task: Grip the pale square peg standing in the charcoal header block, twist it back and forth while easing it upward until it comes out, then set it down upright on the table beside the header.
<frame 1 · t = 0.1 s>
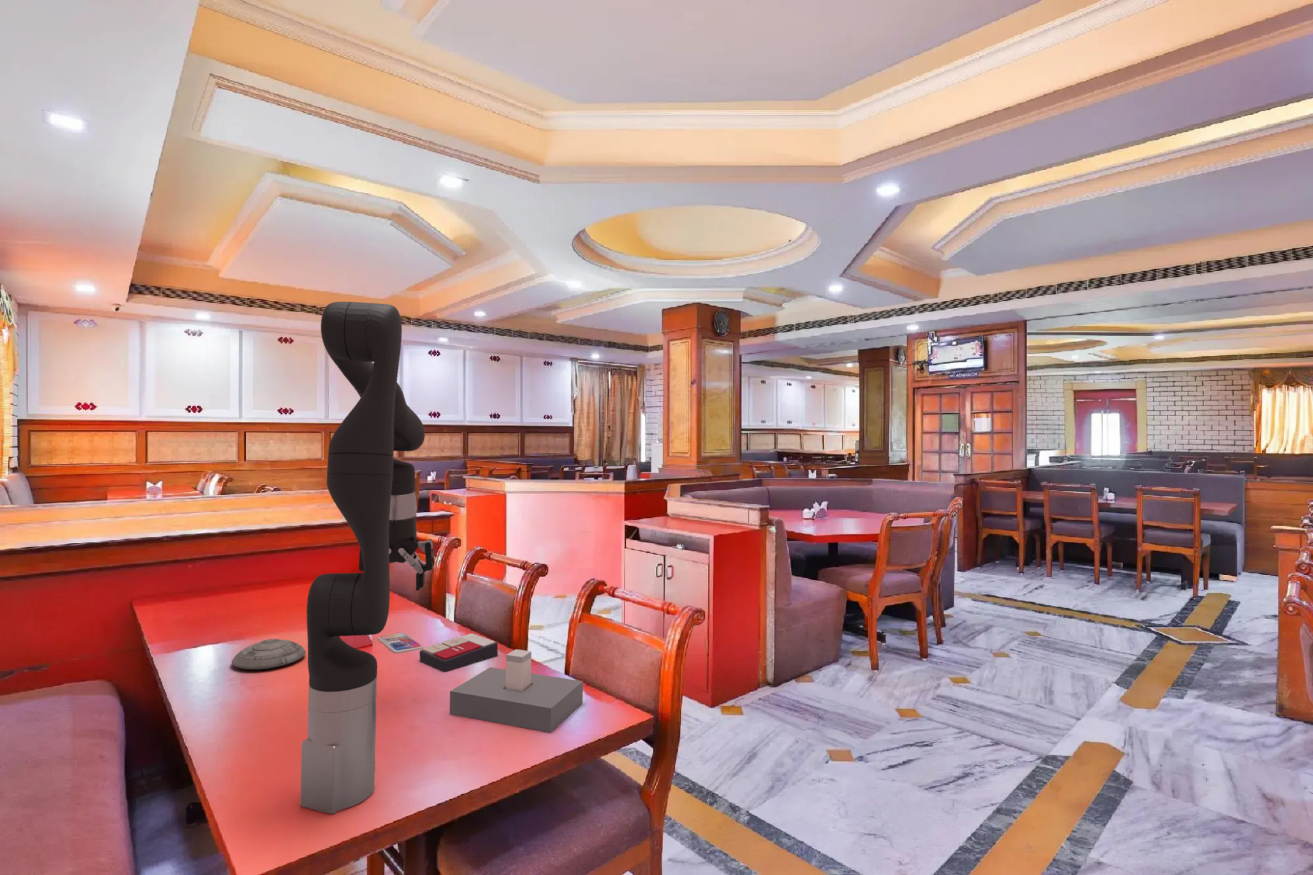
hand: (397, 589, 130), 22 cm above the table, tool pointing down, fingers open, 8 cm apart
flying saucer: (269, 663, 149), on the table
smartphone: (400, 645, 164), on the table
pale square peg: (518, 679, 126), in the header
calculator: (459, 660, 154), on the table
header: (517, 708, 126), on the table
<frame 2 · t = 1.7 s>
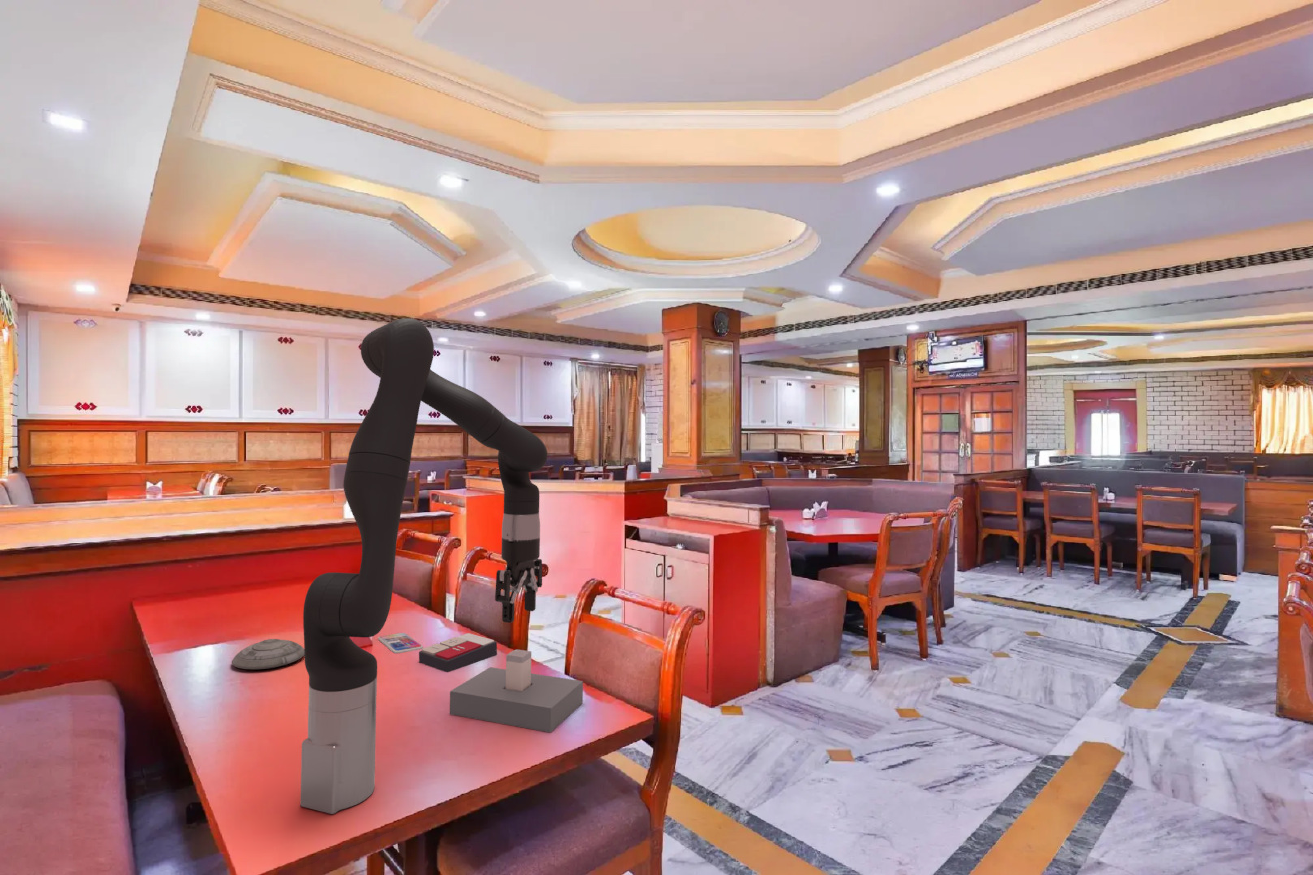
hand: (519, 616, 127), 19 cm above the table, tool pointing down, fingers open, 8 cm apart
nothing on the table moved.
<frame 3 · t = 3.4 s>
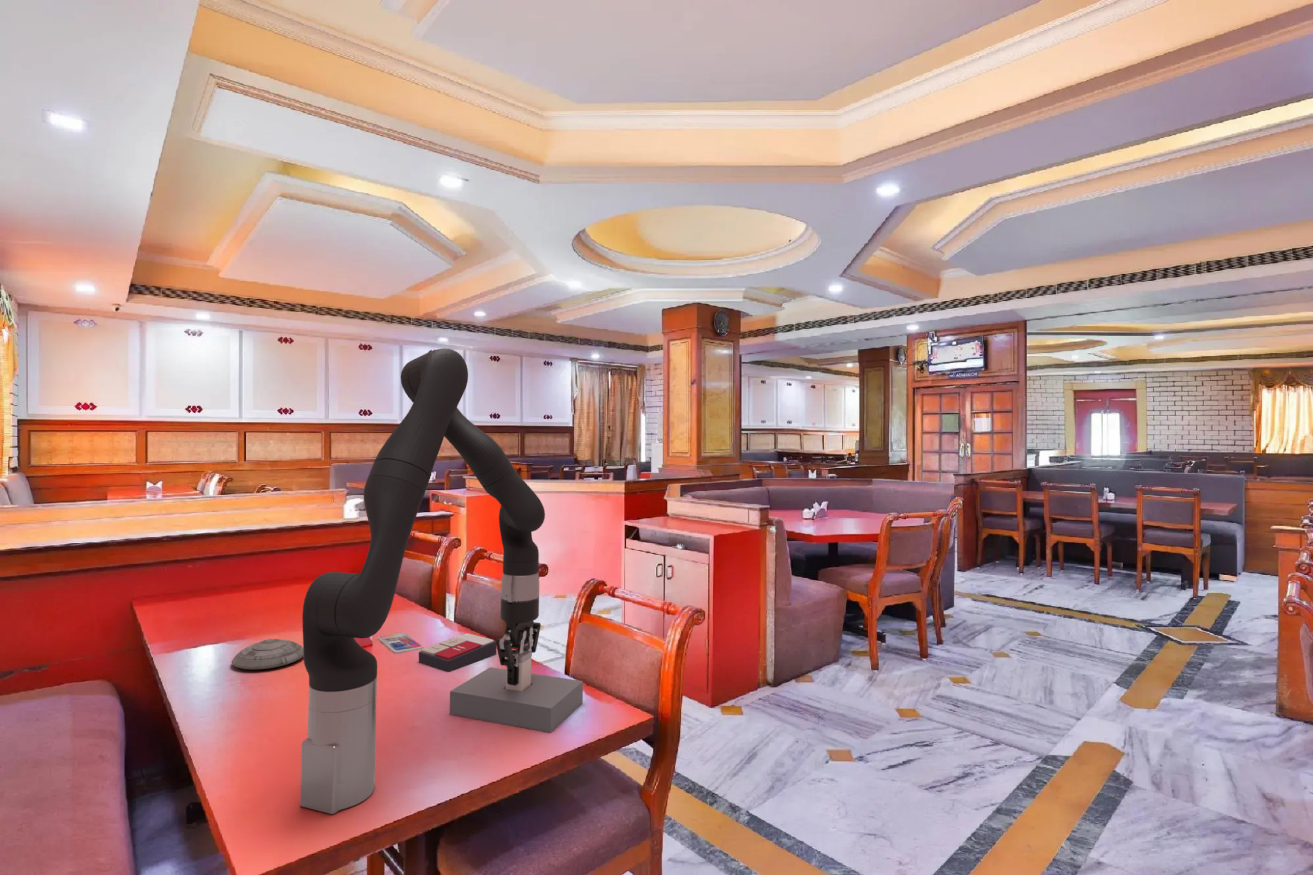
hand: (518, 680, 126), 6 cm above the table, tool pointing down, fingers closed on pale square peg, 3 cm apart
pale square peg: (518, 679, 126), in the header, touching gripper
everything else where it was.
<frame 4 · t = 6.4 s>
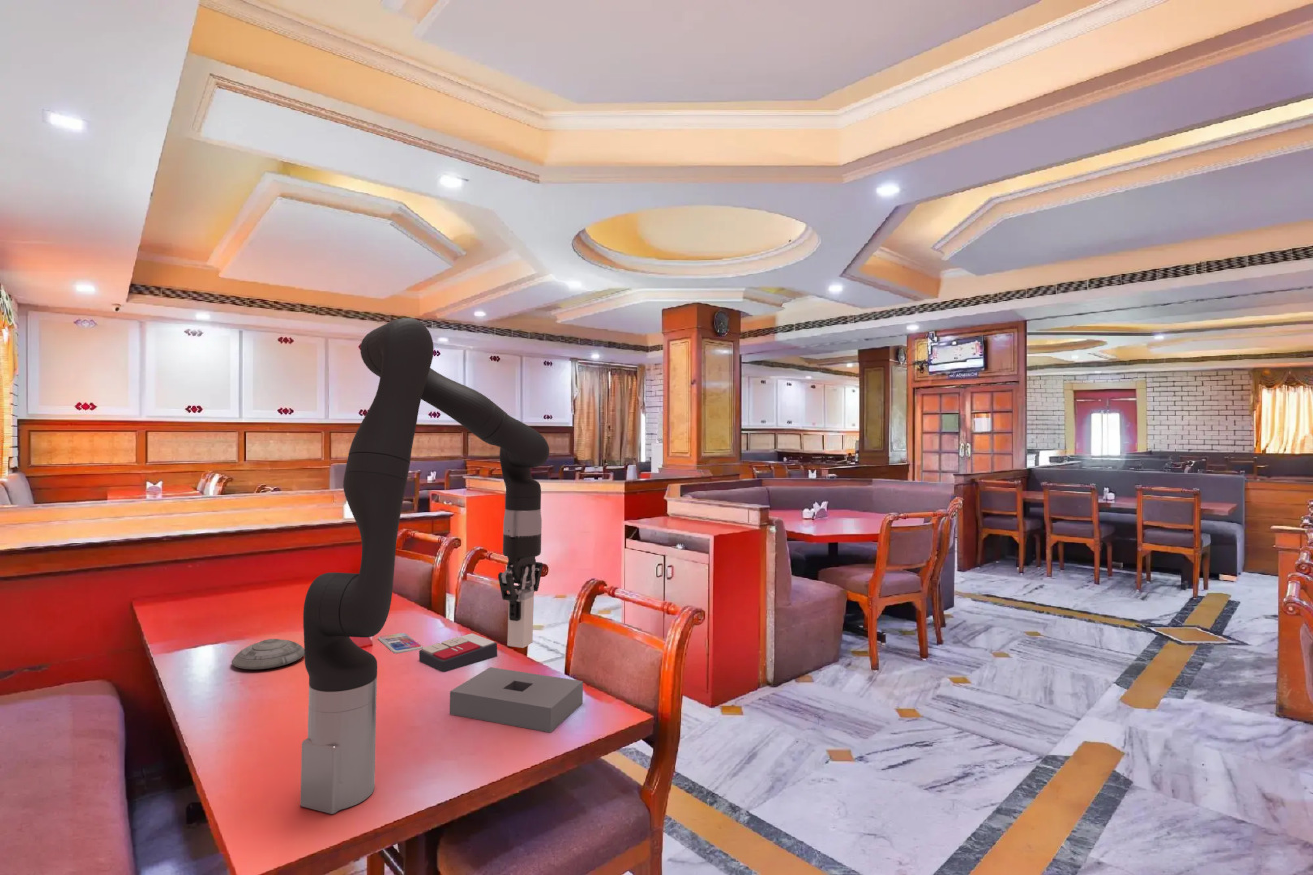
hand: (520, 617, 126), 18 cm above the table, tool pointing down, fingers closed on pale square peg, 3 cm apart
pale square peg: (520, 617, 126), point 18 cm above the table, touching gripper
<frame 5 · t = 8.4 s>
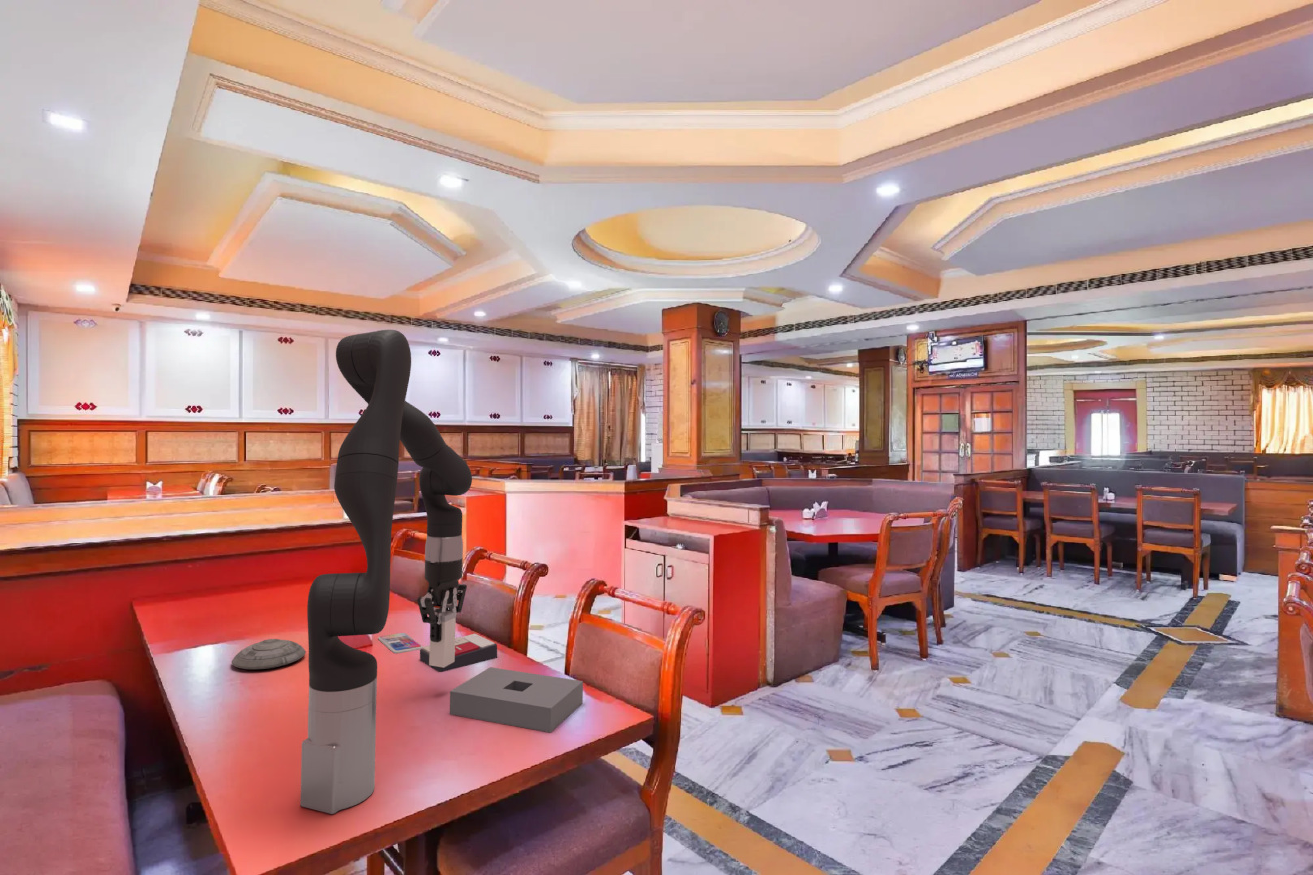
hand: (442, 637, 132), 12 cm above the table, tool pointing down, fingers closed on pale square peg, 3 cm apart
pale square peg: (442, 638, 132), point 12 cm above the table, touching gripper
everything else where it was.
when the fingers open (6 cm above the table, at t = 9.7 s): pale square peg stays where it is, on the table.
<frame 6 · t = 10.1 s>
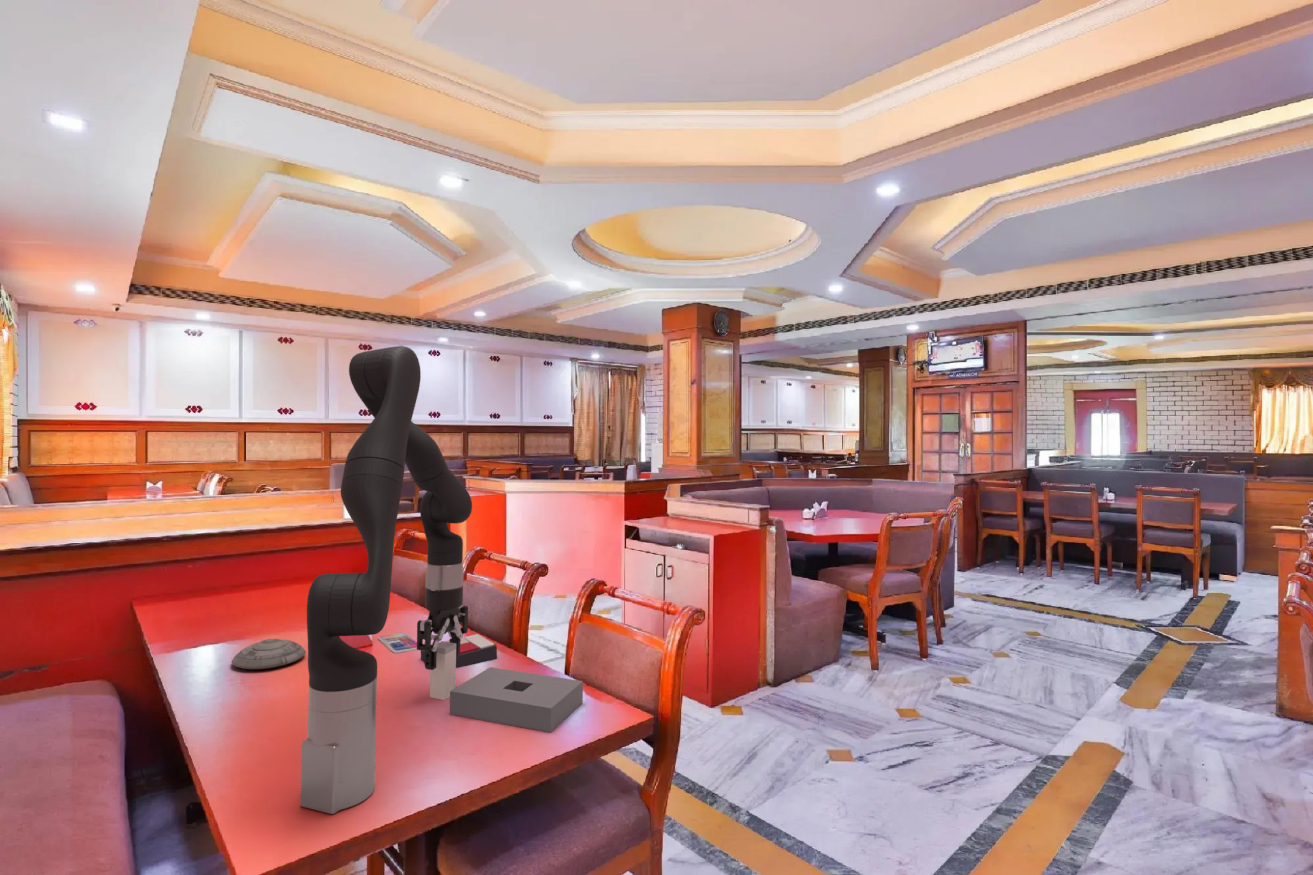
hand: (442, 662, 132), 7 cm above the table, tool pointing down, fingers open, 7 cm apart
pale square peg: (443, 670, 132), on the table
everything else where it was.
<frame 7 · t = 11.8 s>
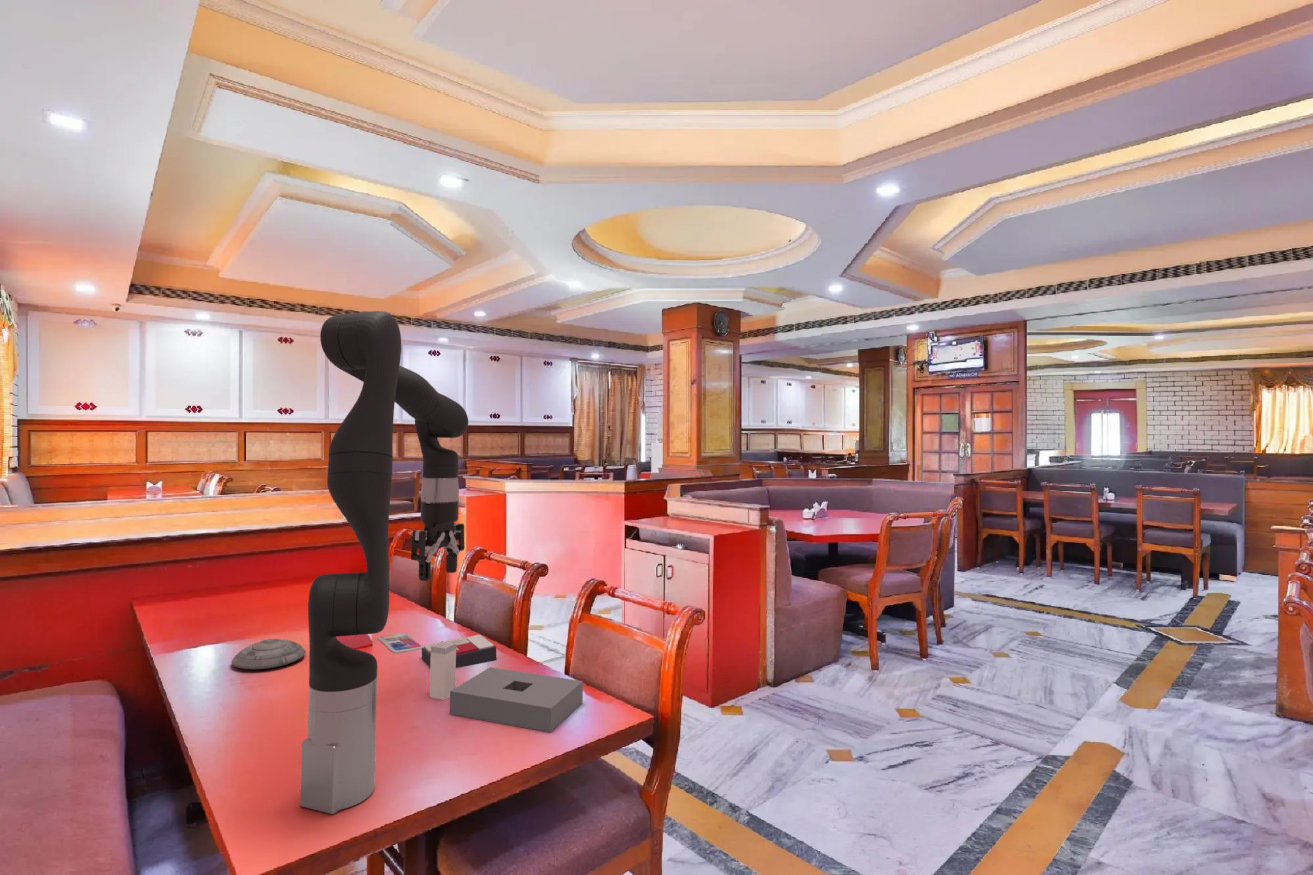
hand: (438, 576, 132), 25 cm above the table, tool pointing down, fingers open, 8 cm apart
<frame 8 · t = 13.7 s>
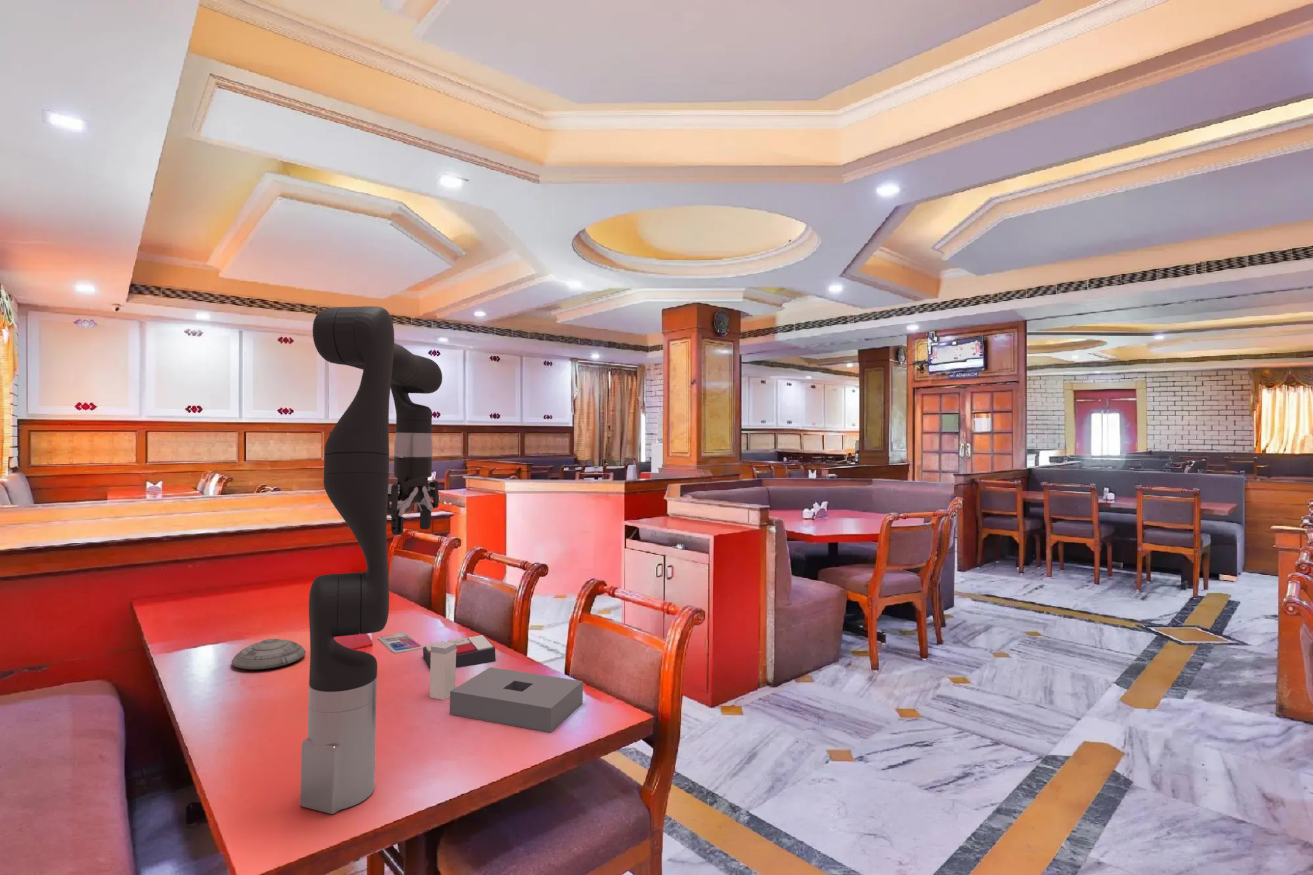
hand: (411, 531, 132), 34 cm above the table, tool pointing down, fingers open, 8 cm apart
at the end: pale square peg inside the target area (0.1 cm from its centre), on the table; pale square peg tilted 0°; the gripper is holding nothing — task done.
